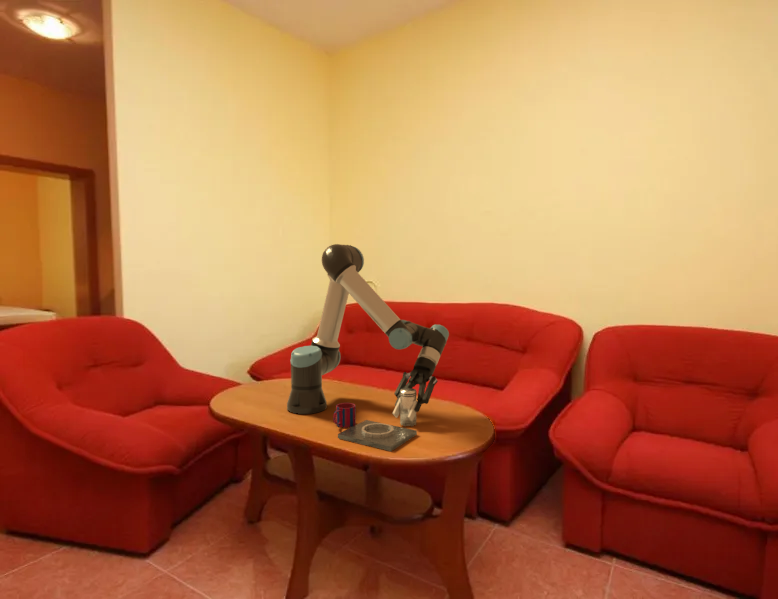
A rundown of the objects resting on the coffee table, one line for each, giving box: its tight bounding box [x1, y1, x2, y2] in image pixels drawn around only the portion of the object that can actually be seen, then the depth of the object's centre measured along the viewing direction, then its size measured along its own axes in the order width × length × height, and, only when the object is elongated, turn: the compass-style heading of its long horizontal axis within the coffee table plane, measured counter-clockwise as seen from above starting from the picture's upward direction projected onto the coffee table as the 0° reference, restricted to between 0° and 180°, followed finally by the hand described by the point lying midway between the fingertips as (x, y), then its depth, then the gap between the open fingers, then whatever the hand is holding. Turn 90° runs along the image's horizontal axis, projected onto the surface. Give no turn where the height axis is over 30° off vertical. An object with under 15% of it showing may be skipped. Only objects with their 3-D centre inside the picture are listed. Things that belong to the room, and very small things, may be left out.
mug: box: [332, 402, 357, 429], centre depth 162 cm, size 7×10×7 cm
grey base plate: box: [337, 419, 418, 452], centre depth 152 cm, size 20×16×3 cm
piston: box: [399, 387, 418, 427], centre depth 164 cm, size 6×6×12 cm
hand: (402, 417), depth 161 cm, fingers closed on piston, 5 cm apart
